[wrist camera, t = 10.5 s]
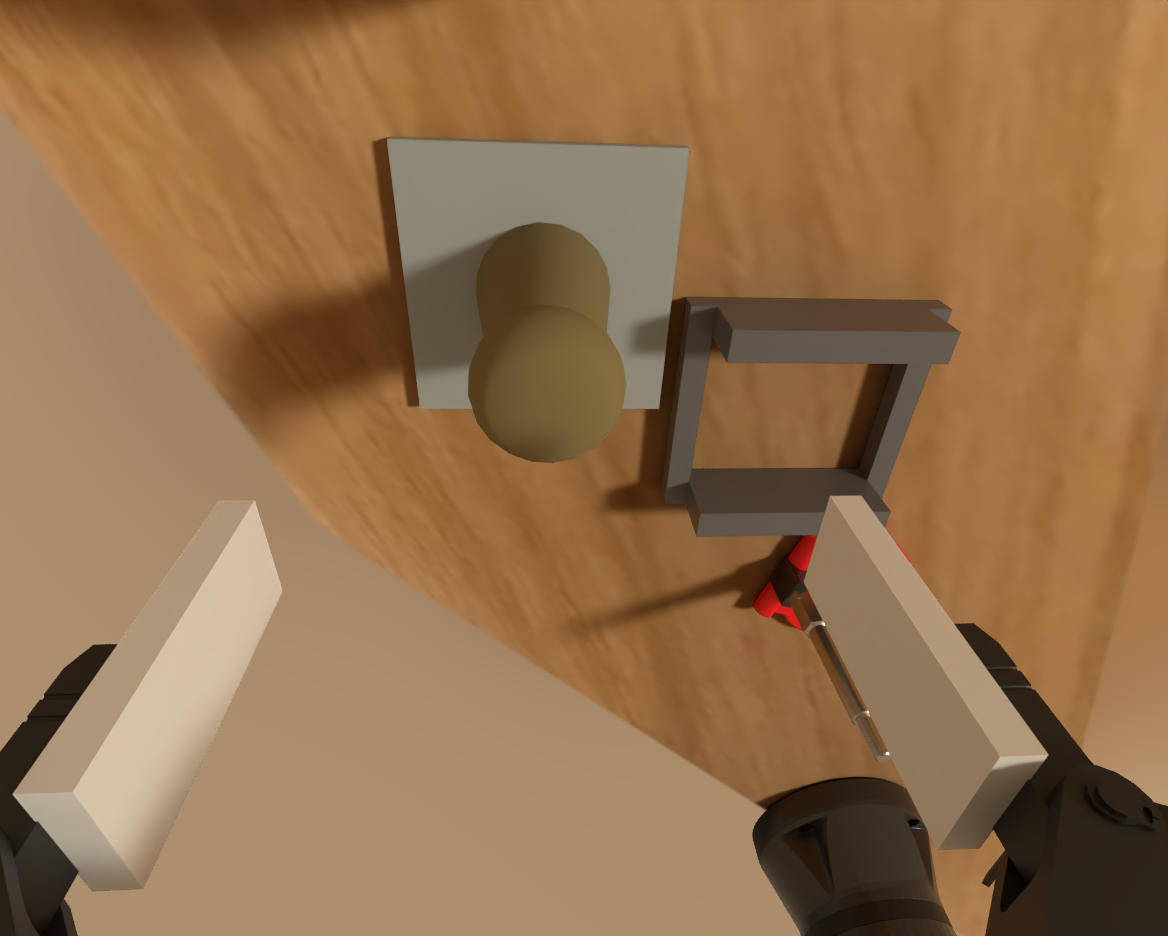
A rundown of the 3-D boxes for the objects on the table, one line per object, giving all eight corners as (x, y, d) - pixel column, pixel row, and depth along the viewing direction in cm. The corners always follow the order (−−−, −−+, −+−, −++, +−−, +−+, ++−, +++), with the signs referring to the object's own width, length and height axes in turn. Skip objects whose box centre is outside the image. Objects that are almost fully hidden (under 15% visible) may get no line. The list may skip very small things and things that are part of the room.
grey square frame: (871, 489, 37) (903, 533, 34) (661, 491, 36) (673, 536, 33) (938, 300, 31) (987, 332, 28) (686, 296, 30) (704, 329, 27)
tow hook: (929, 545, 41) (811, 513, 38) (1077, 729, 30) (928, 703, 28) (852, 630, 45) (741, 607, 42) (959, 817, 35) (820, 802, 32)
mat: (657, 403, 33) (659, 409, 33) (421, 403, 32) (419, 408, 32) (686, 146, 26) (689, 148, 26) (389, 136, 25) (386, 138, 25)
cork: (452, 252, 27) (412, 362, 18) (584, 200, 27) (609, 288, 18) (508, 371, 31) (499, 513, 22) (627, 327, 30) (668, 457, 21)
